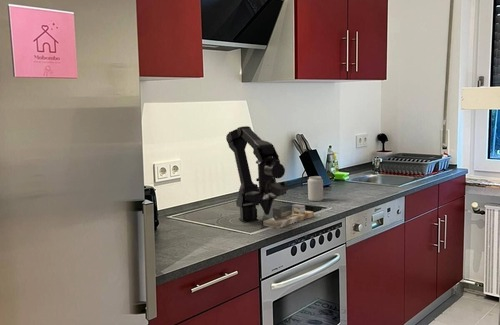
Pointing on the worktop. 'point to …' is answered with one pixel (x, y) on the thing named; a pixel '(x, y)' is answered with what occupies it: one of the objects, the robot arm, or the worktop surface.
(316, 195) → the can
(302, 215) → the door jamb
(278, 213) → the bolt
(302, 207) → the keeper
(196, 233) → the worktop surface
